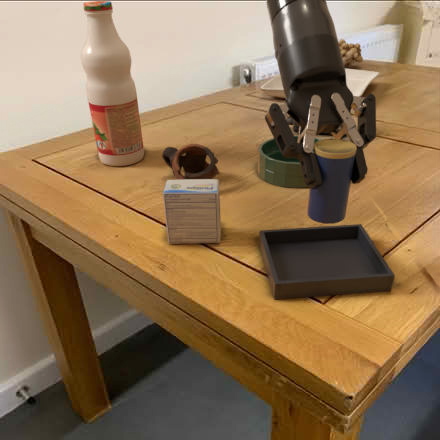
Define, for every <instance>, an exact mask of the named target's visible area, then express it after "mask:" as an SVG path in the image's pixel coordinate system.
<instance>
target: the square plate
mask: <svg viewBox="0 0 440 440" xmlns="http://www.w3.org/2000/svg"><path fill="white" fill-rule="evenodd" d="M345 71H346V84H347V87H348V88H349V90H350V91H351V92H352V94H353V96H358V97H362V96H363V94H364V92H365V91H366V89H367V88H368V87H369V85H370V84H371V83H373V81H374V80H375V79H376V78H377V77H378V76H380V72H379V71H373V70H365V69H364V70H363V69H355V68H346V67H345ZM259 90H260V91H262V92H263V93H264V94H265V95H267V96H270V97H276V98H280V99H282V100H283V99H284V100H286V96H285V94H284V89H283V85H282V80H281V76H280V73H278V74H276V75H274V76H273V77H272V78H271V79H269V80H268V81H266V82H265V83H264V84H262V85H261V86H260V87H259Z"/></svg>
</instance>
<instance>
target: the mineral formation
mask: <svg viewBox="0 0 440 440" xmlns="http://www.w3.org/2000/svg"><path fill="white" fill-rule="evenodd" d="M338 43H339V47H340V51H341V55H342V59H343V63H344V67H345V68H346V67H349V66H350V65H351V63H352V64H354V65H355V64H356V63H358V64H361V63H362V62H363V61H364V58H363V56H362V48H361V44H360V43H353V42H351V43H348V42H347V41H346V40H345V39H343V38H341V39H339V40H338Z"/></svg>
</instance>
